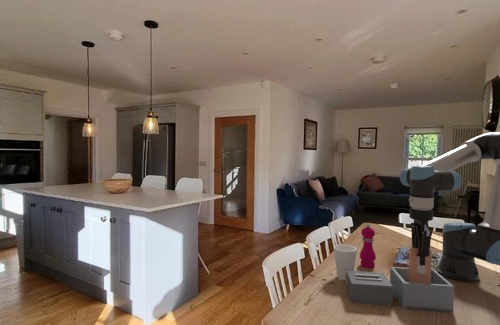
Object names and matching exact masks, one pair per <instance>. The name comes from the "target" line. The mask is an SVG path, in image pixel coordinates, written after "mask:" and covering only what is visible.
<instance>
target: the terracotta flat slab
mask: <svg viewBox="0 0 500 325" xmlns="http://www.w3.org/2000/svg"><path fill="white" fill-rule="evenodd" d="M416 254H418V248H412V247H409V249H408V268H409V282H411V283H427V284H431V269H432V249H431V248H430V252H429V257H428V256H427V257H426V274H418V273H417V256H416Z"/></svg>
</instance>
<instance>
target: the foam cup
mask: <svg viewBox="0 0 500 325" xmlns="http://www.w3.org/2000/svg"><path fill="white" fill-rule="evenodd" d="M357 250H358V249H357V247H355V246H354V245H349V244H336V245H334V246H333V254H334V260H335V267H336V268H335V269H336V275H337V277H338V278H339V279H338V278H337V277H336V278H337V279H338V280H340V279H341V281H344V280H345V281H344V282H346V271H355V265H356V264H355V263H356V258H357V255H358V254H357V252H358V251H357Z"/></svg>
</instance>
